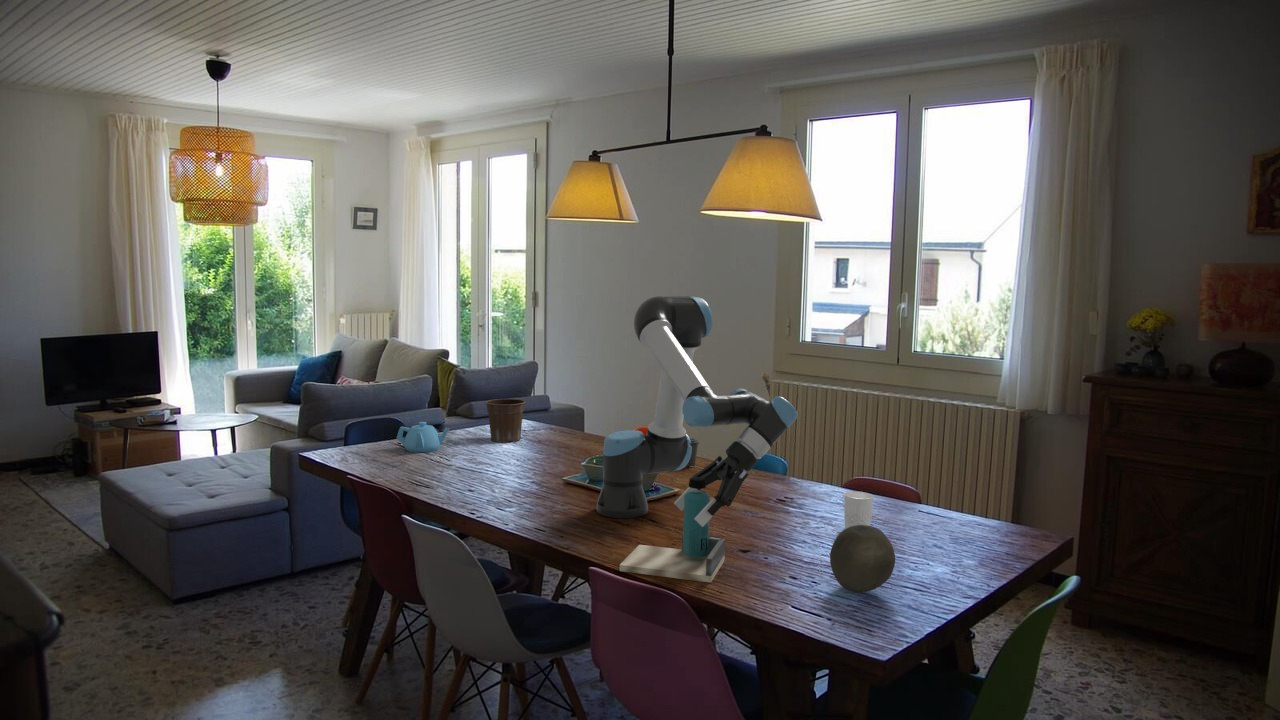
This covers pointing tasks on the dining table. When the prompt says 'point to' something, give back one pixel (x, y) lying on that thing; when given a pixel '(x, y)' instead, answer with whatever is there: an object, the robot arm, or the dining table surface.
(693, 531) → the beverage bottle
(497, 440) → the plant pot
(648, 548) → the corner board
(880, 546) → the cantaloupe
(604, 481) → the robot arm
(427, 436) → the teapot
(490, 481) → the dining table surface
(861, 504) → the white cup
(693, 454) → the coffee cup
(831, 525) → the dining table surface
